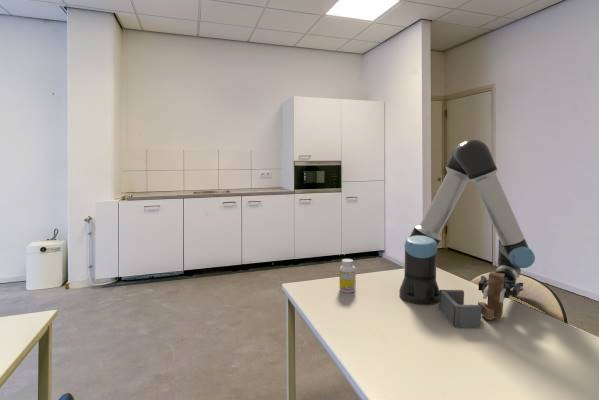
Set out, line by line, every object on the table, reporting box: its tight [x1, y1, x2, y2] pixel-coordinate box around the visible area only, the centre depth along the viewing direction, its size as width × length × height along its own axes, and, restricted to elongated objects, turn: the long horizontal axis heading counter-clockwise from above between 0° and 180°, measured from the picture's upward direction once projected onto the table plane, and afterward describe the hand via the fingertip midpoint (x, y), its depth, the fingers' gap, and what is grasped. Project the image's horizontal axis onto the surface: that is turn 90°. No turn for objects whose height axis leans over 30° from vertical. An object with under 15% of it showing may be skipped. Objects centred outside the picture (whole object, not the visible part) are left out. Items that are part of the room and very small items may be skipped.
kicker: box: [477, 271, 505, 320], centre depth 115 cm, size 7×7×14 cm
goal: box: [438, 289, 482, 329], centre depth 117 cm, size 15×8×7 cm, turn 176°
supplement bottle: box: [339, 258, 357, 294], centre depth 144 cm, size 7×7×13 cm
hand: (492, 296), depth 111 cm, fingers closed on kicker, 4 cm apart
